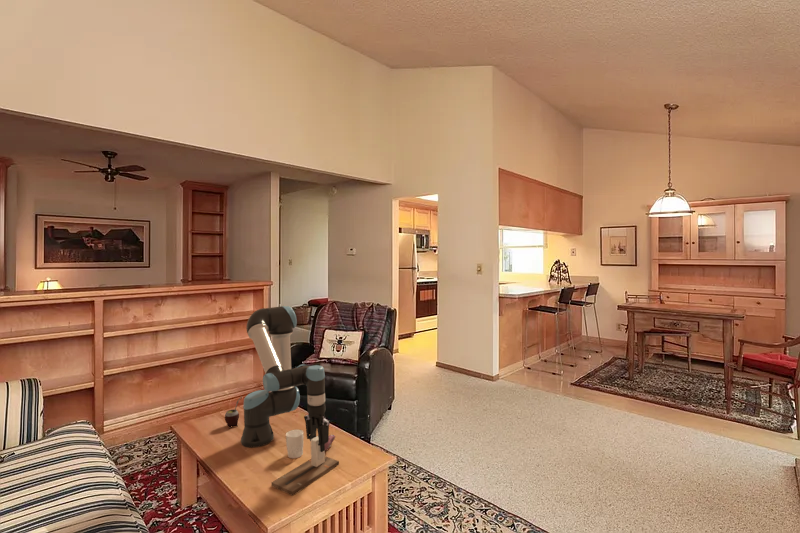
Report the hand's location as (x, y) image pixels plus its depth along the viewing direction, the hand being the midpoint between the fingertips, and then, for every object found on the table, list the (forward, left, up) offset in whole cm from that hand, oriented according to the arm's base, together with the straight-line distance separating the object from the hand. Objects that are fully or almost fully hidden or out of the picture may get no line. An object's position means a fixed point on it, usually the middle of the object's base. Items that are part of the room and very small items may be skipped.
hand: (318, 457), depth 172 cm
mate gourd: (-70, +6, -5) cm, 70 cm away
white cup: (-17, +2, -5) cm, 18 cm away
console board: (0, -7, -5) cm, 8 cm away
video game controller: (-9, +15, -5) cm, 18 cm away
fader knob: (0, 0, -3) cm, 3 cm away
